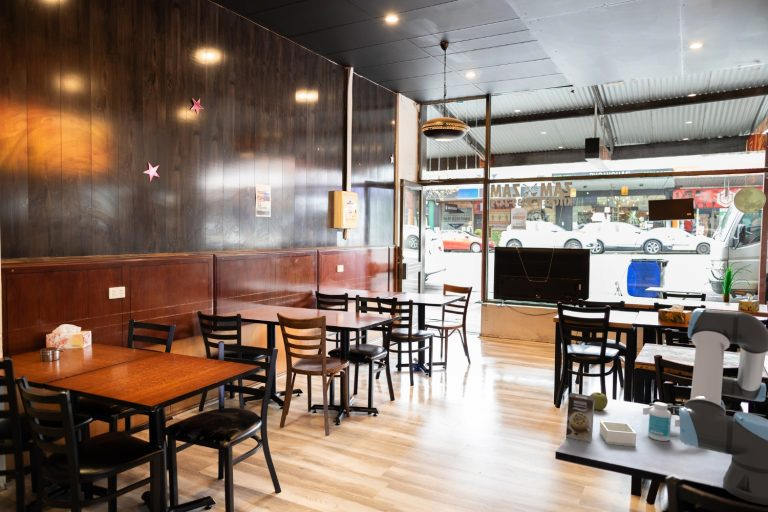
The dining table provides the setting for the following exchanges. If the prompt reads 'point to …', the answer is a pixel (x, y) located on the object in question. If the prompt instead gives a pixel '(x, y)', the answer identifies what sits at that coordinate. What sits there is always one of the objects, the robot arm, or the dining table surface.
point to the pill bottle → (659, 422)
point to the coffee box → (580, 417)
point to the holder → (617, 433)
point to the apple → (599, 401)
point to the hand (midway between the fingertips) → (659, 416)
